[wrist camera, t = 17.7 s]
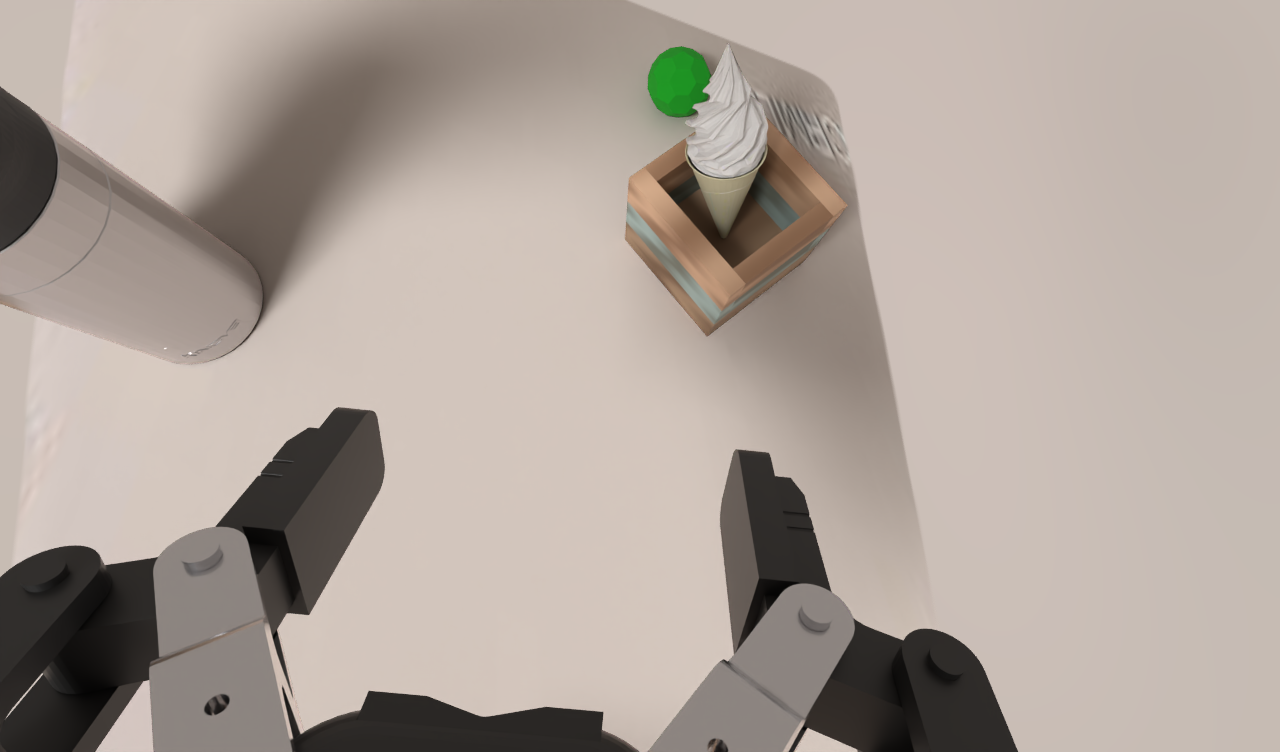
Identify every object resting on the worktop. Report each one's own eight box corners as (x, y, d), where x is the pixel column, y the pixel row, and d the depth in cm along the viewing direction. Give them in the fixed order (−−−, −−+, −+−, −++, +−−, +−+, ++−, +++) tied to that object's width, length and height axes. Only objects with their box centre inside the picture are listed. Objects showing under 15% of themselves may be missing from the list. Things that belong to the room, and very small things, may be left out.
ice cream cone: (751, 204, 46) (767, 6, 32) (764, 257, 43) (787, 67, 30) (685, 214, 46) (674, 22, 33) (694, 268, 44) (686, 83, 30)
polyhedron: (656, 69, 51) (661, 24, 46) (712, 86, 51) (723, 43, 46) (638, 118, 50) (642, 78, 45) (696, 136, 50) (705, 98, 45)
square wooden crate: (625, 239, 48) (629, 177, 39) (721, 169, 49) (746, 95, 40) (707, 336, 46) (730, 295, 37) (803, 261, 48) (847, 205, 39)
